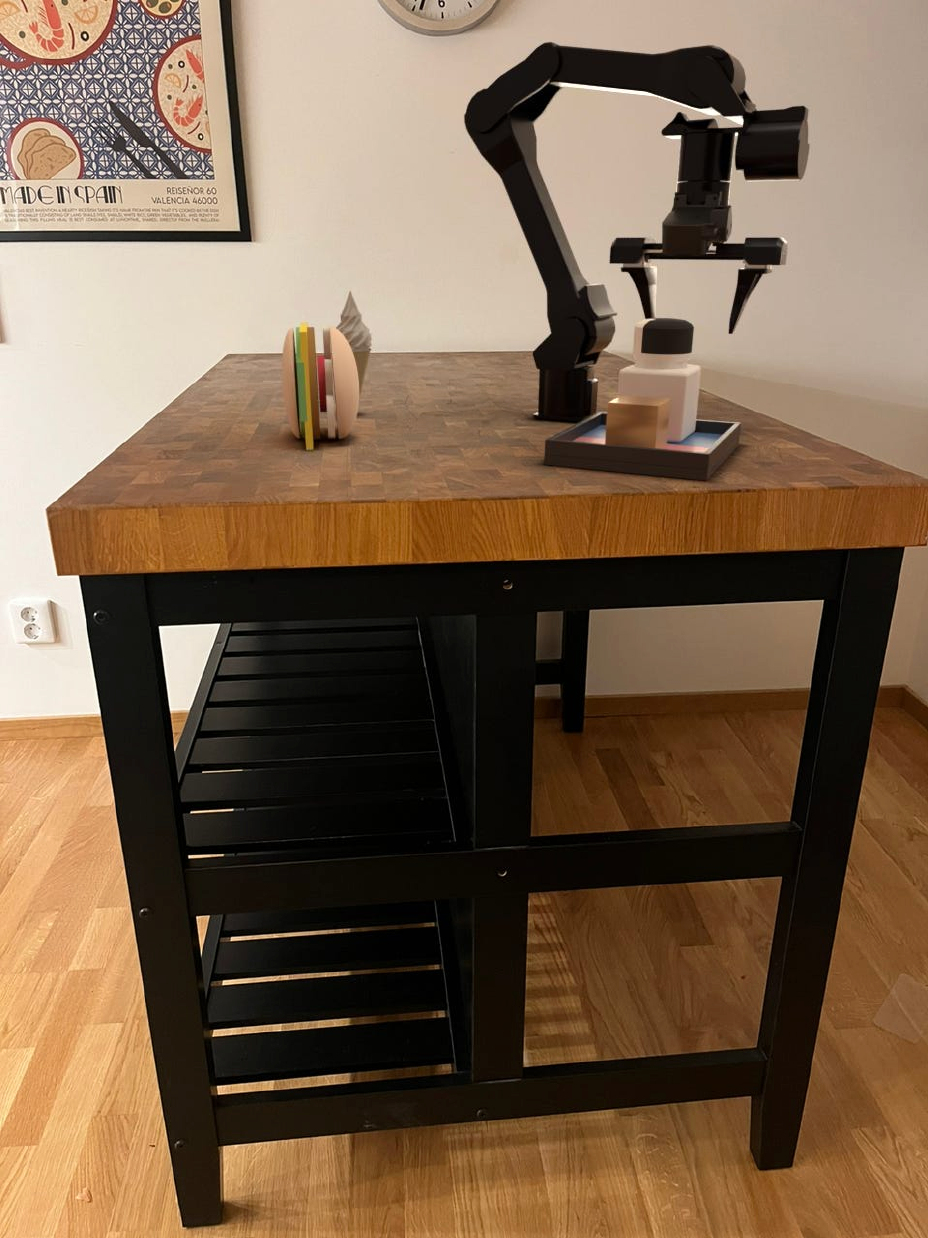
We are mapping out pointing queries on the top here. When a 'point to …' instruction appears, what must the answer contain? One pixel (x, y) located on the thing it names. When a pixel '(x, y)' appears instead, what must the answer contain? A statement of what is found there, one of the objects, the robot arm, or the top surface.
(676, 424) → the white square bottle
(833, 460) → the top surface
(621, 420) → the brass block
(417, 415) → the top surface
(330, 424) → the hamburger
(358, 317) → the ice cream cone
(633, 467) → the tray
